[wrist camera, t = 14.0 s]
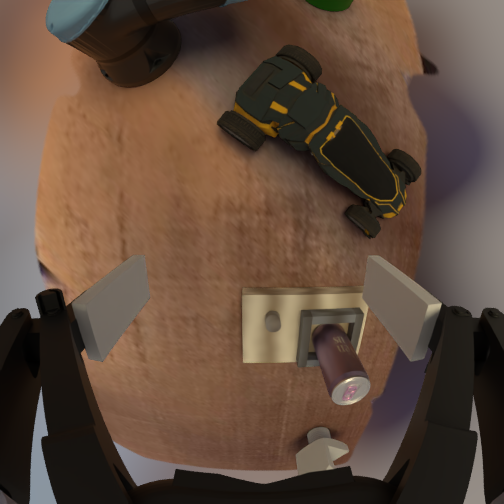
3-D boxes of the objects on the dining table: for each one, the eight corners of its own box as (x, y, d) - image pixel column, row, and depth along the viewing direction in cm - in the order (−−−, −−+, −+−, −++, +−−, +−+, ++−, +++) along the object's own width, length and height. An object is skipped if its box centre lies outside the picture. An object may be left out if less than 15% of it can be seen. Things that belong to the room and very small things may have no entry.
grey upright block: (317, 444, 60) (328, 501, 41) (293, 436, 58) (301, 498, 39) (342, 427, 58) (359, 486, 39) (318, 419, 56) (333, 483, 37)
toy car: (278, 54, 36) (284, 26, 26) (416, 173, 41) (449, 175, 31) (216, 125, 39) (205, 112, 30) (364, 243, 45) (390, 260, 35)
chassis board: (243, 353, 50) (242, 373, 45) (242, 287, 46) (241, 303, 41) (352, 348, 50) (361, 366, 44) (364, 285, 46) (377, 299, 41)
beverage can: (306, 346, 46) (323, 405, 32) (317, 318, 45) (340, 375, 30) (336, 349, 47) (360, 406, 32) (347, 322, 45) (378, 376, 31)
